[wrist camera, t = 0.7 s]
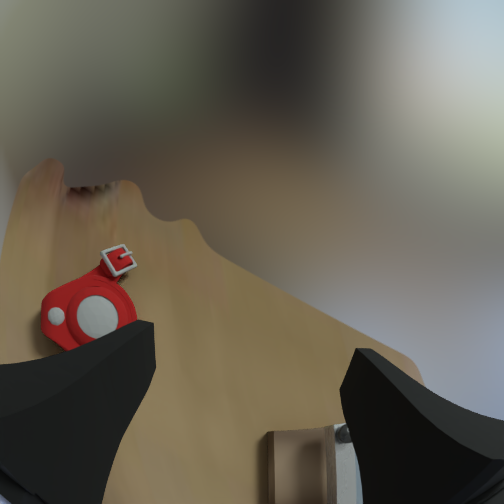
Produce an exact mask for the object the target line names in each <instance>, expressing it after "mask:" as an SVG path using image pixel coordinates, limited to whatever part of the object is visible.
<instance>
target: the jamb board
mask: <svg viewBox="0 0 504 504" xmlns="http://www.w3.org/2000/svg"><path fill="white" fill-rule="evenodd" d="M268 492H269V504H327V474H326V449H325V431H324V427H323V428H314V429H303V430H288V431H271V432H268Z"/></svg>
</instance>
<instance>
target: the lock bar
mask: <svg viewBox="0 0 504 504" xmlns="http://www.w3.org/2000/svg"><path fill="white" fill-rule="evenodd" d="M324 431H325V449H326V474H327V504H356V465H355V450H354V447H353V444H352V440H351V437H350V434H349V431H348V427H347V424H346V423H343V424H336V425H331V426H325V427H324Z"/></svg>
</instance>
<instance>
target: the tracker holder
mask: <svg viewBox="0 0 504 504" xmlns="http://www.w3.org/2000/svg"><path fill="white" fill-rule="evenodd" d="M110 252H111V253H110ZM107 253H109V254H108V255H107V256H106V254H107ZM131 254H132V251H130V252H129V251H128V250H127V248H126V246H125V245H124V244H122V245H119V246H115V247H112V248H109V249H106V250H103V251H101V252H100V255H101V256H102V259H101V261H100V265H99V266H98V267H96V268H95V269H93V270H92V271H91V272H89V273H87V274H86V275H84V276H82V277H80V278H79V279H76V280H74V281H71V282H69V283H67V284H65V285H62V286H60V287H58V288H56V289H54V290H53V291H51V292H49V293H48V294H47V295H46V296H45V298H44V299H43V300H42V305H41V330H42V332H43V333H44V334H45V335H46V336H47V337H48V338H50V339H51V340H53V341H54V342H56V343H57V344H58V345H59V346H60V347H62V348H63V349H64V350H65V351H68V350H71V349H74V348H76V347H78V346H81V345H83V344H86V343H88V342H91V341H93V340H95V339H97V338H100V337H102V336H104V335H106V334H108V333H110V332H112V331H114V330H116V329H118V328H120V327H122V326H125V325H127V324H129V323H131V322H133V321H136V320H137V315H136V311H135V307H134V305H133V302H132V301H131V299H130V297H129V296H128V294H127V293H126V292H125V290H124V289H123V288H122V287H121V286H119V285H118V284H117V281H118V280H119V279H120V277H121V276H122V274H123V273H125V272H127V271H129V270H131V269H133V268H136V267H137V264H136V262H135V261H134V259H133V258H132V256H131Z"/></svg>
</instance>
